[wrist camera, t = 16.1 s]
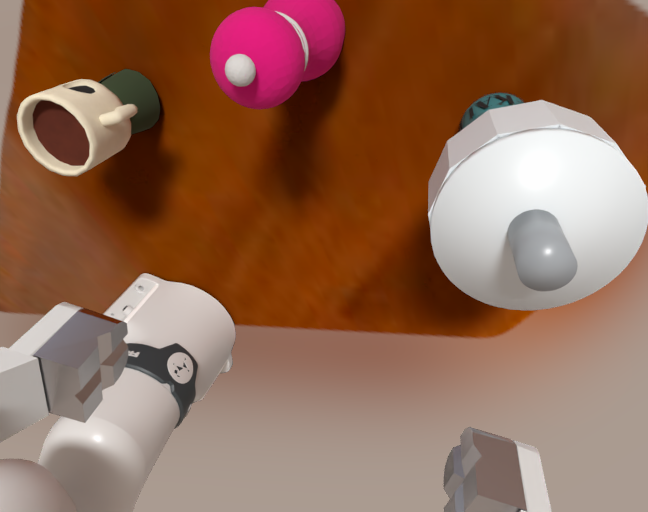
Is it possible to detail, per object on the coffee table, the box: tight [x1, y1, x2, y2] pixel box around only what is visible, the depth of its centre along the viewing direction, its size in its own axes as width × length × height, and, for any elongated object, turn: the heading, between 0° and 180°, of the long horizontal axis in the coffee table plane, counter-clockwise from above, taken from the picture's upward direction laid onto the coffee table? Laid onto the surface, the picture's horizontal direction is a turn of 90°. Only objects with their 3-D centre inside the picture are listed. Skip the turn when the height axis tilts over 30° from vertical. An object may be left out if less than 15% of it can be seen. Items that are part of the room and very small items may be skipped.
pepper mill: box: [210, 0, 345, 109], centre depth 35 cm, size 7×7×20 cm
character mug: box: [17, 69, 160, 176], centre depth 45 cm, size 11×7×13 cm, turn 107°
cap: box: [428, 100, 648, 310], centre depth 28 cm, size 12×12×10 cm
